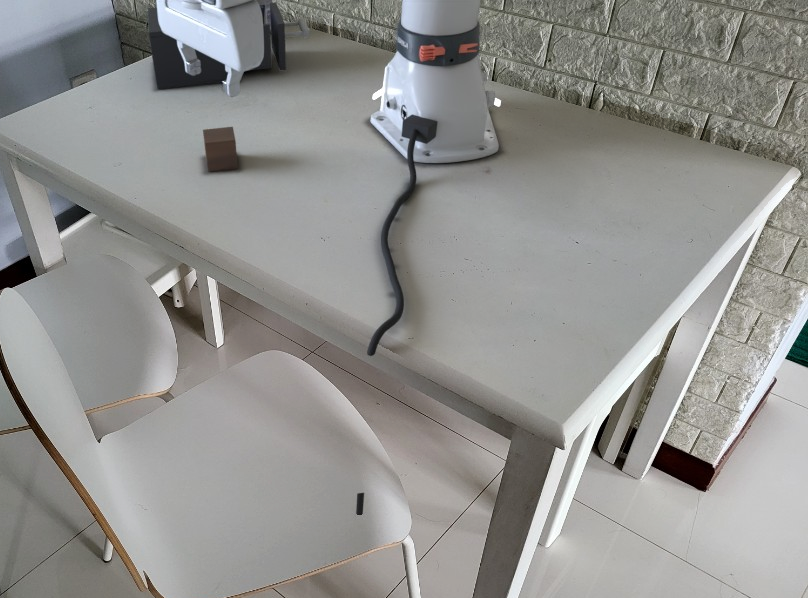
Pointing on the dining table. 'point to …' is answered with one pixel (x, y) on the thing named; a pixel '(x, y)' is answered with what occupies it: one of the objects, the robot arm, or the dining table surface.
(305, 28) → the drawer
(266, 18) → the energy drink
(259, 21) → the robot arm
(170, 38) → the cabinet
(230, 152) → the block
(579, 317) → the dining table surface
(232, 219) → the dining table surface
